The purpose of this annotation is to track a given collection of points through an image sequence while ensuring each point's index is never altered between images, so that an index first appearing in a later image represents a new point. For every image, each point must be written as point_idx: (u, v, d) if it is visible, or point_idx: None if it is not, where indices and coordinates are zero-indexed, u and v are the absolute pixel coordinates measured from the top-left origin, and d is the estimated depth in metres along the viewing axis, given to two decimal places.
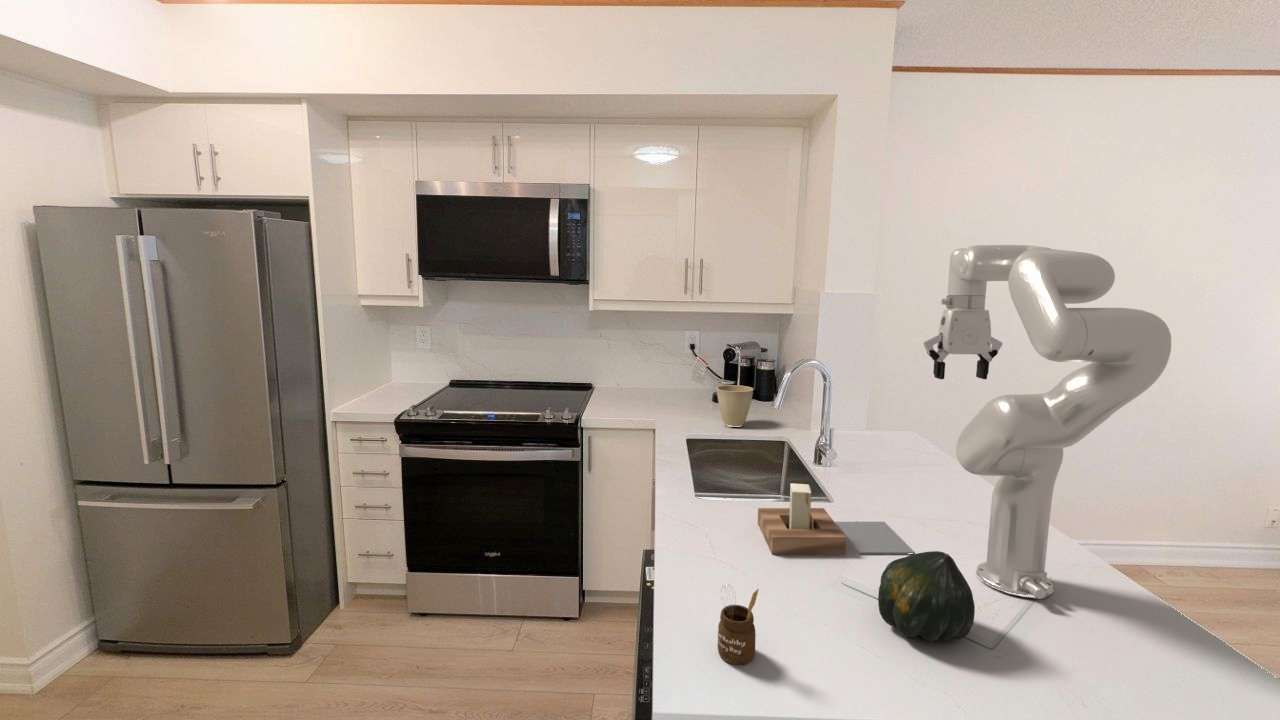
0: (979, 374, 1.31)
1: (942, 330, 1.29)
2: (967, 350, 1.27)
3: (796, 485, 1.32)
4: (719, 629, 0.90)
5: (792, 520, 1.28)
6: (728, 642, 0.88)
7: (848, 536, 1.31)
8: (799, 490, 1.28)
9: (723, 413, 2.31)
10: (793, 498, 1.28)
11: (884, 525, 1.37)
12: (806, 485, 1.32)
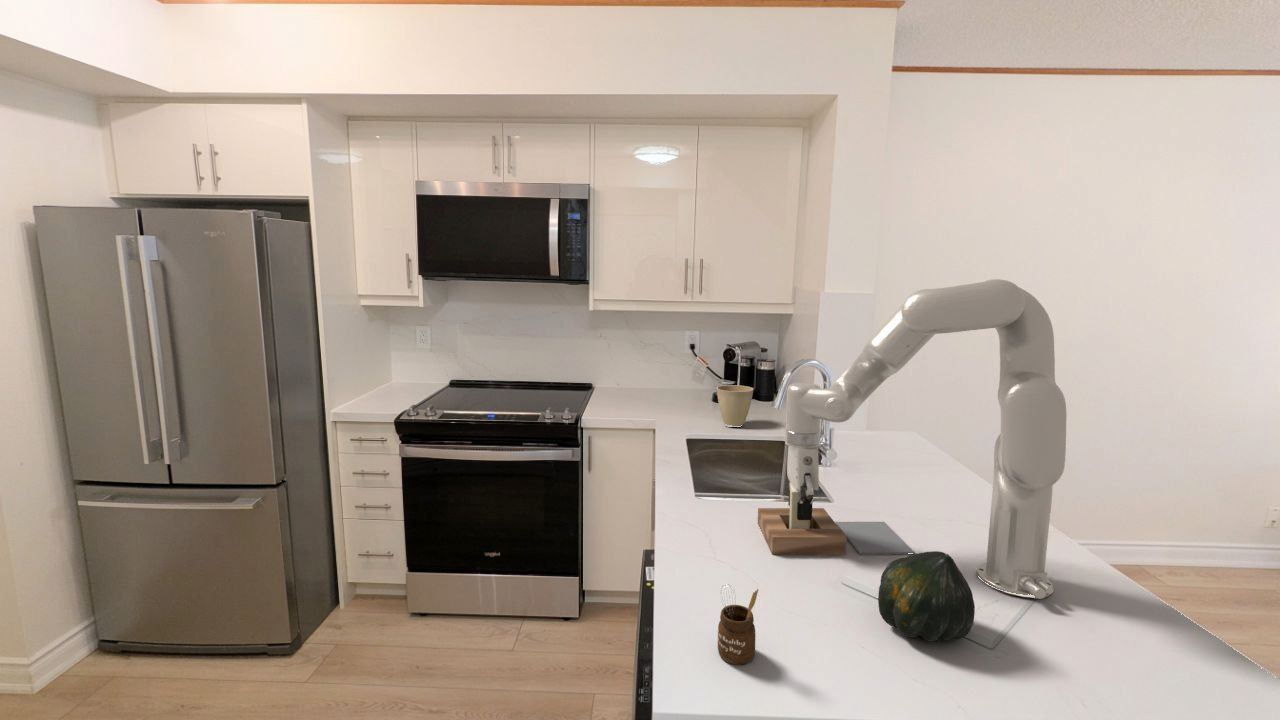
0: None
1: (809, 470, 1.24)
2: None
3: None
4: (719, 629, 0.90)
5: (792, 520, 1.28)
6: (728, 642, 0.88)
7: (848, 536, 1.31)
8: None
9: (723, 413, 2.31)
10: (793, 498, 1.28)
11: (884, 525, 1.37)
12: None
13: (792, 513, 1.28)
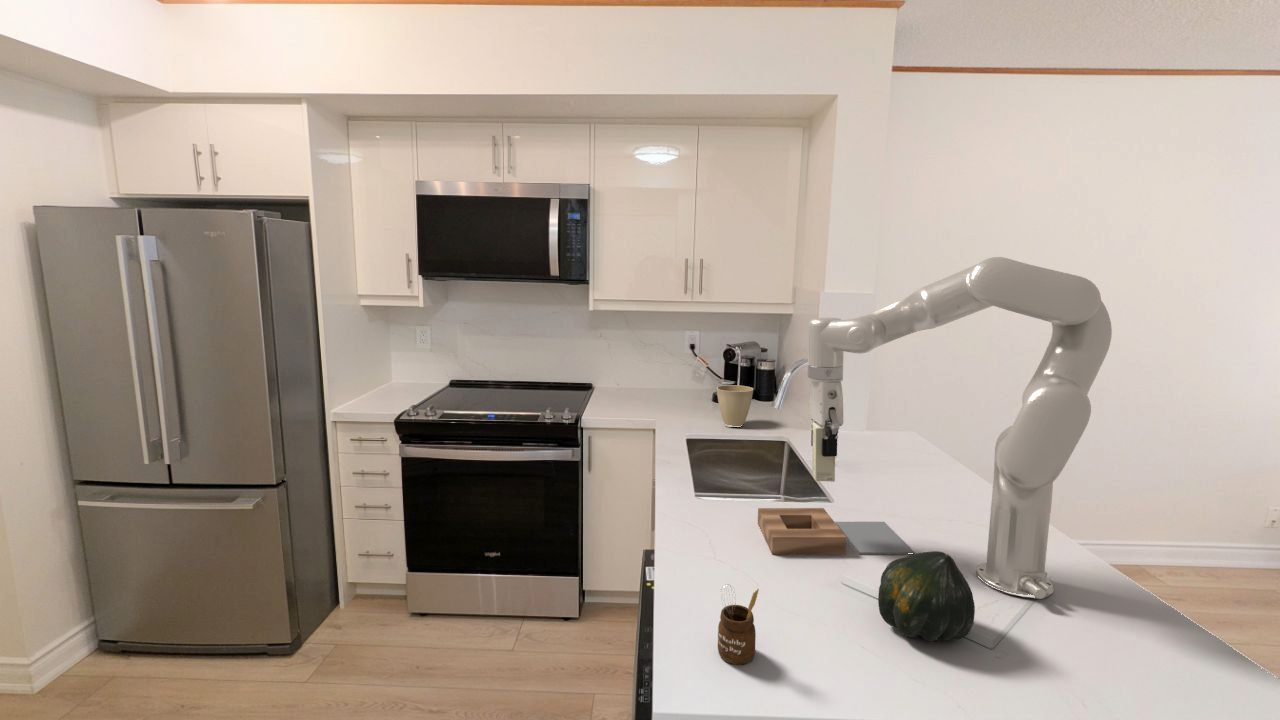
0: None
1: (833, 404, 1.22)
2: None
3: None
4: (719, 629, 0.90)
5: (816, 457, 1.26)
6: (728, 642, 0.88)
7: (848, 536, 1.31)
8: None
9: (723, 413, 2.31)
10: (817, 435, 1.26)
11: (884, 525, 1.37)
12: (829, 423, 1.29)
13: (816, 450, 1.26)
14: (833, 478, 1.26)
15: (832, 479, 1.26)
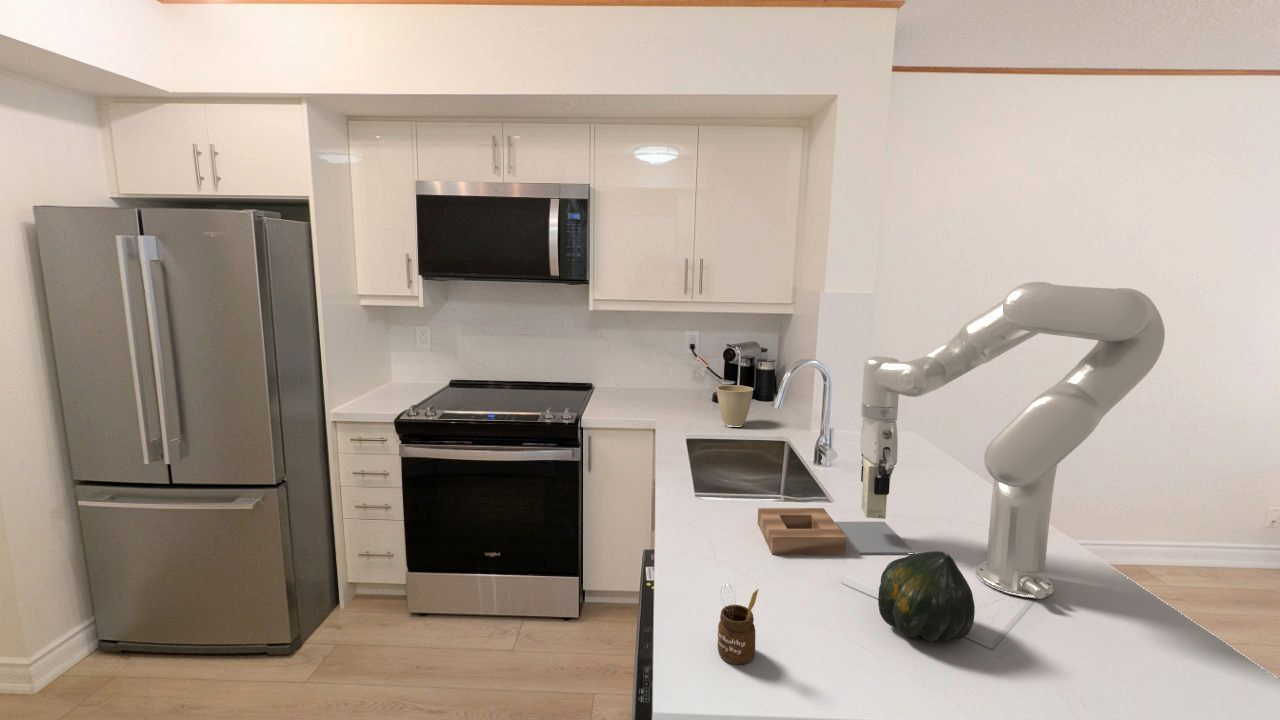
0: None
1: (888, 444, 1.23)
2: None
3: None
4: (719, 629, 0.90)
5: (868, 495, 1.28)
6: (728, 642, 0.88)
7: (848, 536, 1.31)
8: None
9: (723, 413, 2.31)
10: (870, 472, 1.27)
11: (884, 525, 1.37)
12: None
13: (868, 488, 1.27)
14: (884, 515, 1.27)
15: (883, 516, 1.27)
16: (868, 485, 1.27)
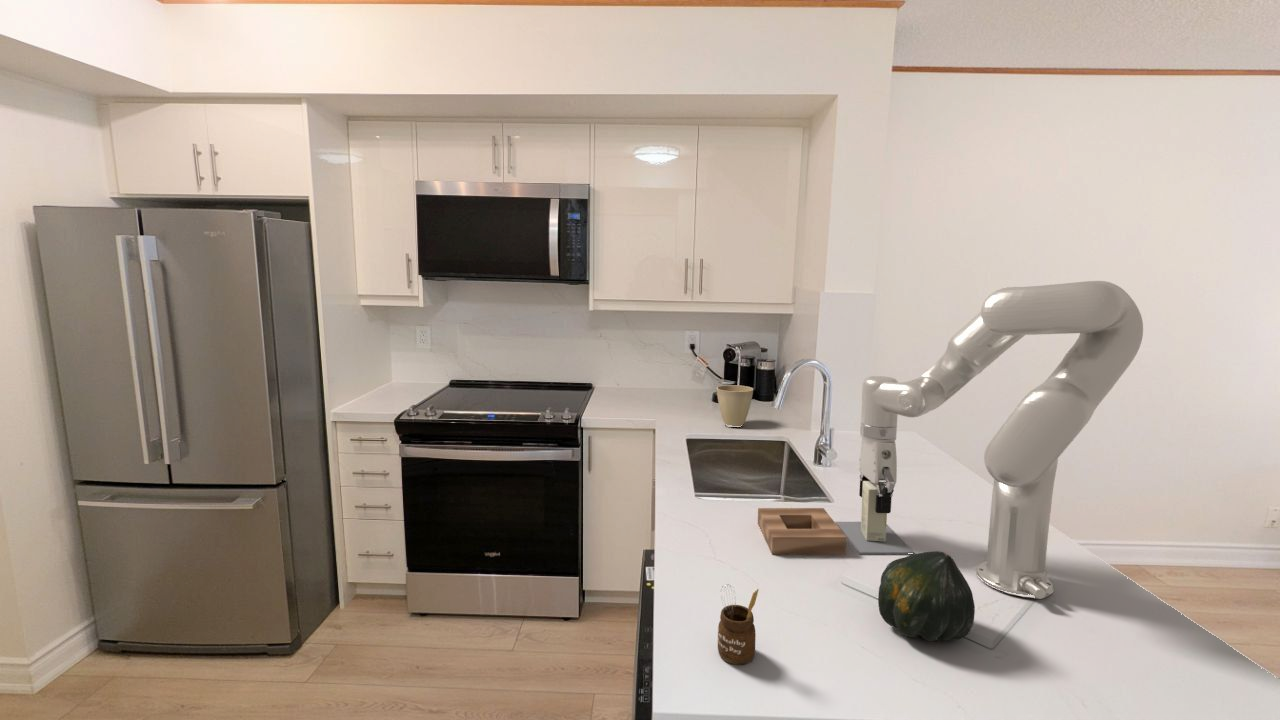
0: None
1: (887, 464, 1.24)
2: None
3: (869, 482, 1.32)
4: (719, 629, 0.90)
5: (868, 518, 1.28)
6: (728, 642, 0.88)
7: (848, 536, 1.31)
8: (875, 488, 1.28)
9: (723, 413, 2.31)
10: (870, 496, 1.28)
11: None
12: None
13: (868, 511, 1.28)
14: (884, 538, 1.28)
15: (883, 539, 1.28)
16: (868, 508, 1.28)
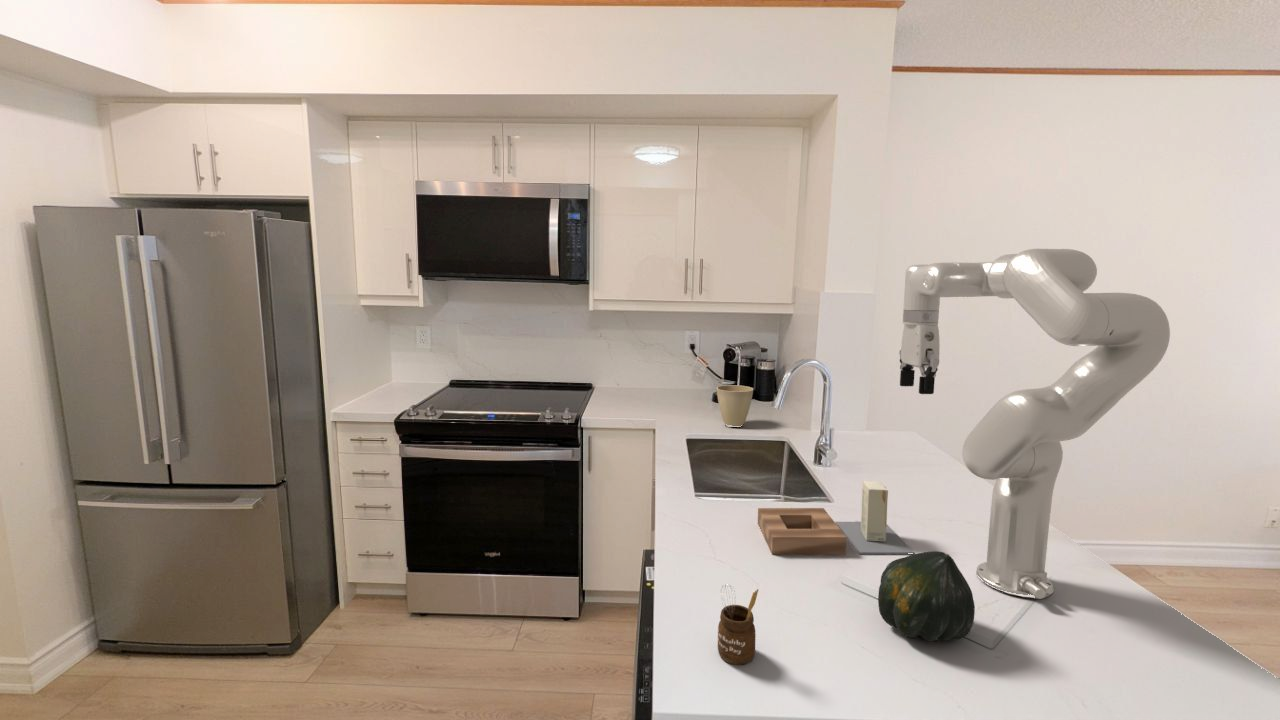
0: (906, 383, 1.40)
1: (930, 345, 1.29)
2: None
3: (869, 482, 1.32)
4: (719, 629, 0.90)
5: (868, 518, 1.28)
6: (728, 642, 0.88)
7: (848, 536, 1.31)
8: (875, 488, 1.28)
9: (723, 413, 2.31)
10: (870, 496, 1.28)
11: None
12: (880, 483, 1.32)
13: (868, 511, 1.28)
14: (884, 538, 1.28)
15: (883, 539, 1.28)
16: (868, 508, 1.28)
